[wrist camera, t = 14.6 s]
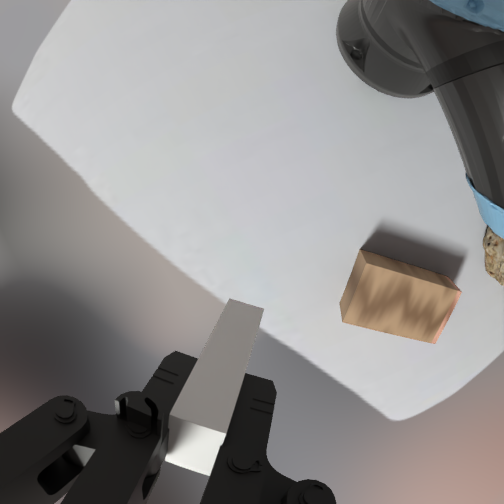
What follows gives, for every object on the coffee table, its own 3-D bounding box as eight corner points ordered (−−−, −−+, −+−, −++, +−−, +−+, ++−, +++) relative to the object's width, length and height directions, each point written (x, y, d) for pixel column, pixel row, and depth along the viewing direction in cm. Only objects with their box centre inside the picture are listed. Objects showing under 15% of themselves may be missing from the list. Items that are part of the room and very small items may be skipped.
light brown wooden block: (366, 263, 33) (461, 291, 32) (359, 248, 38) (447, 276, 37) (342, 322, 36) (434, 343, 35) (339, 302, 41) (424, 324, 39)
